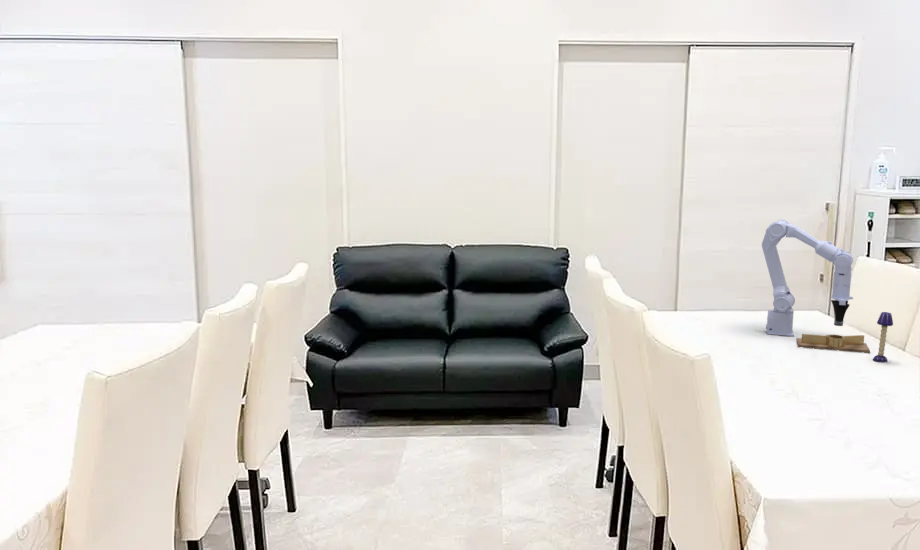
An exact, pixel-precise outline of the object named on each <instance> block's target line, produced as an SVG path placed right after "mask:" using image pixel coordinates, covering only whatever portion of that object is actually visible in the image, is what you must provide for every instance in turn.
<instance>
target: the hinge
mask: <svg viewBox="0 0 920 550" xmlns="http://www.w3.org/2000/svg"><path fill="white" fill-rule="evenodd" d="M801 338H802V340H801V343H809V344H821V345H827V346H830V347H838V348H839V347H845V345H860V344H864V343H865V335H864V334H863V335H860V334H859V335H858V334H857V335H840V334H827V335H826V334H825V335H824V334H823V335H819V334H810V333H802V334H801Z"/></svg>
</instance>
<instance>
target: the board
mask: <svg viewBox="0 0 920 550" xmlns="http://www.w3.org/2000/svg"><path fill="white" fill-rule="evenodd" d="M796 340H797V341H796V344H797V345H798V346H797V345H796V346H797V348H800V347H803V348H802V349H813V348H814V350H815V349H816V350H817V349H818V350H825V349H826V350H827V351H837V350H839V351H838V352H850V353H851V352H852V353H861V352H864V354H870V353H871V350H870V348H869V346H868V345H867V343H865V342H864V344H860V345H845V347H839V348H838V347H830V346H827V345H821V344H809V343H801V340H802V337H796Z"/></svg>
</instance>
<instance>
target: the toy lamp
mask: <svg viewBox="0 0 920 550" xmlns="http://www.w3.org/2000/svg"><path fill="white" fill-rule="evenodd" d="M877 319H878V320H877V321H876V323H877V325H880V326H881V329H880V338H879V343H878V344H879V345H878V346H879V347H878V352H877V354H876V355H874V357H873V359H872V360H873V361H874V362H877V361H878V362H879V363H887V362H888V358H887V357H886V356H885V351H886V350H885V349H886V347H885V346H886V342H887V341H886V340H887V339H886V338H887V333H888V327H892V326H894V321H893V315H892V313H891V312H886V311H882V312H880V315H879V317H878V318H877Z"/></svg>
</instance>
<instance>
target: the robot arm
mask: <svg viewBox="0 0 920 550" xmlns="http://www.w3.org/2000/svg"><path fill="white" fill-rule="evenodd" d="M784 237H785V238H795V239H797V240H798V241H800V242H803V243H804V244H806V245H808V246H810V247H812V248H813V249H814V250H815V254H817V255H818V256H820V257H821V258H823V259H825V260H826V261H828V262H830V263H833V264H834V273H833V280H832V281H833V282H832V293H831V299H832V300H830V302H831V303H832V307H833V315H834V318H836V321H837V322H843V323H844V319H845V315H846V312H847V310H848V309H849V307H850V303H849V300H854V297H853V296H850V294H851V285H852V284H851V283H852V265H853V263H854V257H853V255H852V254H851V253H849V252H848V251H845V250H844V248H839V247H837V246H835V245H834V244H833V242H832V241H831V240H828V241H827V240H819V239H817V238H816V237H815V236H813V235H811V234H810V233H808V232H807V231H804V230H803V229H802V228H800V227H798V226H797V225H795V224H794V223H790V222H788V221H787V220H784V219H779V220H777V221H774V222H771V224H769V226H768V227H767V228H766V229H765V234H764V237H763V239H762V241H761V249H762V252H763V256H764V258H765V262H766V266H767V270H768V273H769V277H770V280H771V285H772V289H773V290H772V292H773V293H772V295H773V303H772V304H773V309H772V310H770V309H769V310H767V319H766V321H767V322H766V324H765V329H766V334H767V335H774V336H776V335H777V336H788V337H794V331H793V328H794V327H793V325H794V314H795V313H794V312H795V311H794V309H793V306H794V305H795V304H796V303H795V301H796V299H795V297H794V295H793V294H792V293H791V290H790V288H789V286H788V285H787V281H786V277H785V274H784V270H783V266H782V262H781V260H780V256H779V253H778V248H777V245H778V244H779V243H780V241H781V240H782V239H783V238H784Z"/></svg>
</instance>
